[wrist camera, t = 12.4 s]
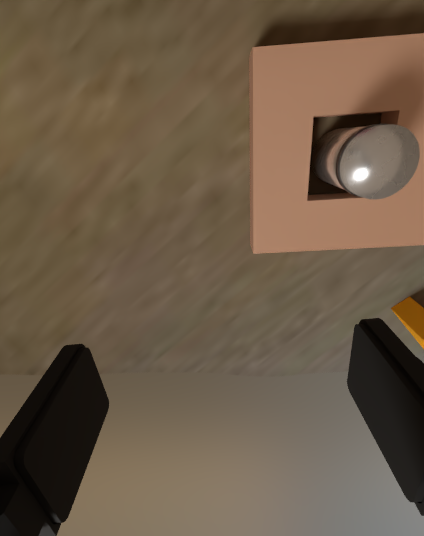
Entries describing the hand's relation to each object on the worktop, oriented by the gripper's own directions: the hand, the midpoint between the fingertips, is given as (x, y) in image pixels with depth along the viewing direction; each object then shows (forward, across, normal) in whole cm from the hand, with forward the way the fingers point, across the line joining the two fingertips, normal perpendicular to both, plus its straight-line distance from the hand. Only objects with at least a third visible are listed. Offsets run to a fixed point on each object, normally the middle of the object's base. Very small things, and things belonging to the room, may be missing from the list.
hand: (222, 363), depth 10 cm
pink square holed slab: (+24, -13, -4) cm, 27 cm away
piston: (+24, -13, -4) cm, 27 cm away
